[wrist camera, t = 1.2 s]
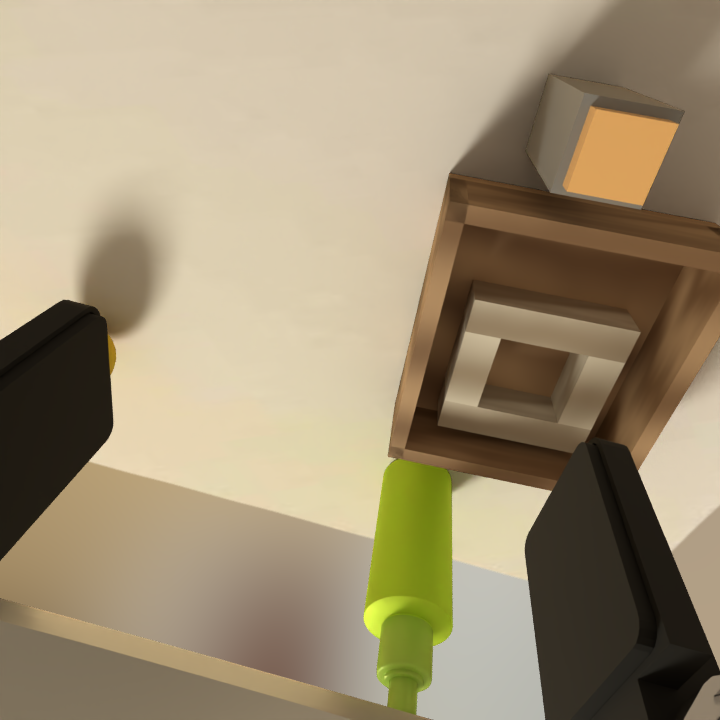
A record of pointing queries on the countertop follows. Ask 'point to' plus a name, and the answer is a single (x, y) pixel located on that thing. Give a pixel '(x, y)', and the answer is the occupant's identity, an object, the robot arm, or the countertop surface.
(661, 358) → the crate
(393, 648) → the soap dispenser
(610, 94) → the plug
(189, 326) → the countertop surface
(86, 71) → the countertop surface
